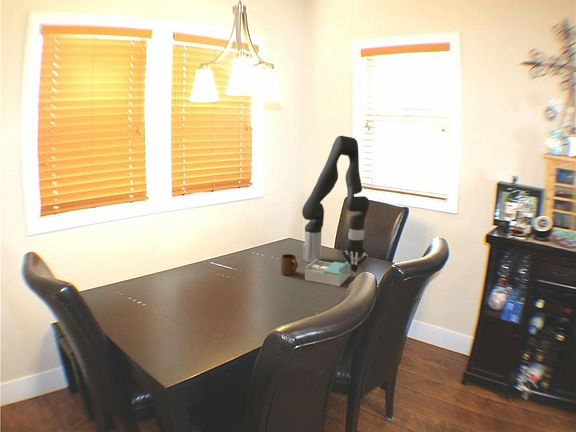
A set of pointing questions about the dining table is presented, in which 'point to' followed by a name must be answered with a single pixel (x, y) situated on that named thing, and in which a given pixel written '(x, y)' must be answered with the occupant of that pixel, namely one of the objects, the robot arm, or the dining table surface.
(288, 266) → the mug
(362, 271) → the dining table surface
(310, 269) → the grey housing
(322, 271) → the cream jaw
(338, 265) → the teal lid
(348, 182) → the robot arm
